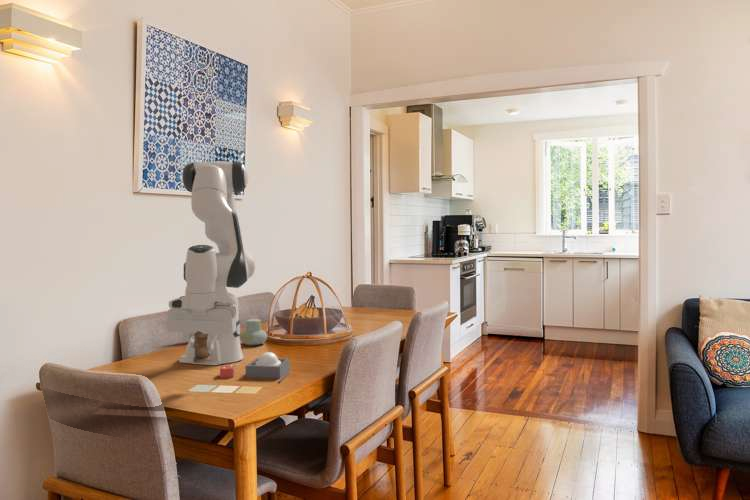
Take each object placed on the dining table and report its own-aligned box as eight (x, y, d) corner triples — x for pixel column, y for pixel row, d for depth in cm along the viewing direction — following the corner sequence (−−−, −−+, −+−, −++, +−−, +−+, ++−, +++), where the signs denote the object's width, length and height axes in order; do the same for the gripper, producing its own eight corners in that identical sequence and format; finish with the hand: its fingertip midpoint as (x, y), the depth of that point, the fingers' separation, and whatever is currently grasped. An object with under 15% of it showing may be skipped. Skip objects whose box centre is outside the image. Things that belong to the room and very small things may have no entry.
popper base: (245, 381, 176) (245, 366, 176) (257, 372, 187) (257, 357, 187) (280, 383, 175) (279, 367, 174) (289, 373, 186) (289, 358, 185)
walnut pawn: (190, 362, 163) (190, 327, 162) (197, 358, 167) (197, 324, 167) (205, 363, 162) (205, 328, 162) (212, 359, 167) (212, 325, 166)
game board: (184, 396, 161) (184, 392, 161) (197, 387, 170) (197, 383, 170) (255, 399, 158) (255, 394, 158) (265, 390, 167) (265, 385, 167)
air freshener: (270, 343, 234) (270, 319, 233) (258, 347, 226) (258, 322, 226) (249, 341, 238) (249, 317, 238) (236, 345, 231) (236, 320, 230)
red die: (220, 381, 176) (220, 367, 176) (221, 378, 180) (221, 364, 180) (233, 381, 177) (233, 367, 176) (234, 377, 181) (234, 364, 180)
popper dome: (252, 375, 177) (251, 354, 177) (260, 368, 185) (260, 349, 185) (276, 375, 176) (276, 355, 176) (284, 369, 184) (283, 349, 184)
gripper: (239, 301, 165) (239, 347, 166) (173, 298, 168) (174, 344, 169) (231, 304, 159) (231, 352, 160) (163, 301, 162) (163, 349, 163)
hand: (201, 348), depth 165 cm, fingers closed on walnut pawn, 4 cm apart
